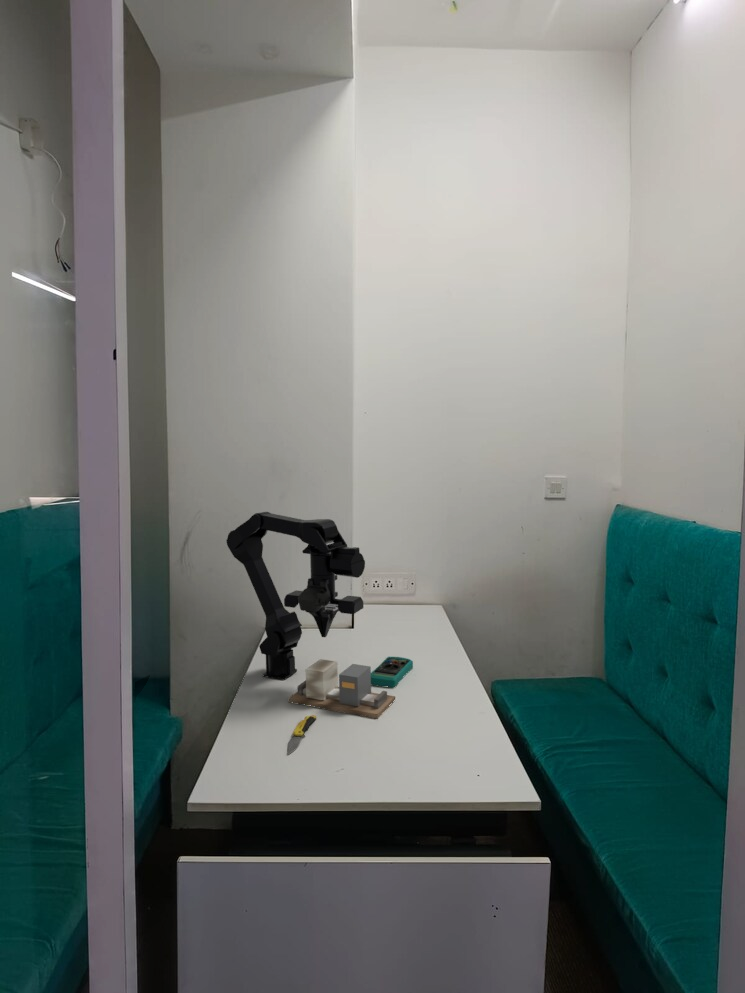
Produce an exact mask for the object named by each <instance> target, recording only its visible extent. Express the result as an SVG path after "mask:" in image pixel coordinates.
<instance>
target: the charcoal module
mask: <svg viewBox="0 0 745 993" xmlns="http://www.w3.org/2000/svg"><path fill="white" fill-rule="evenodd" d="M371 670H372V668H371V665H363V664H357V663H352V664H351V665H350V666H348V667H346V669H344V670H343V671H342V672H340V673H338V687H339V697H340V703H341V704H346V705H352V706H359V705H360V701H361V700H362V699H363V698H364V697H365V696H366V695H367V694H371V692H372V685H371V672H372V671H371Z"/></svg>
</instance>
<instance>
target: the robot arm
mask: <svg viewBox="0 0 745 993" xmlns="http://www.w3.org/2000/svg"><path fill="white" fill-rule="evenodd" d="M268 531H270V532H274V533H279V534H282V535H286V536H287V535H288V536H293V537H296V538H298V539H299V540H301V542H302V543H305V544H307V546H306V547H305V548H304V549H302V551H301V552H302V554H306V555H307V554H308V555H309V556H310V560H309V561H310V563H309V564H310V577H309V578H307V585H306V588H304V589H303V590H293V591H292V592H290V593H287V594H285V597H284V599H283V601H282V600H281V597H280V595H279V593H278V591H277V589H276V586H275V583H274V581H273V579H272V577H271V574H270V573H269V570H268V567H267V566H266V563H265V561H264V559H263V552H264V551H263V550H264V543H263V541H262V540H263V538H264V537H265V536H266V535H267V534H268ZM226 545H227V546H226V547H228V549H229V551H230V553H231V555H232V556H233V557H234V559H236V560H237V561H238V562H239V563H240V564H242V565H243V566H244V569H245V571H246V573H247V575H248V578H249V580H250V582H251V586H252V587H253V590H254V591H255V595H256V597H257V599H258V601H259V603H260V605H261V608H262V610H263V613H264V616H265V624H264V626H265V627H264V630H265V634H266V638H264V639H263V640H262V642H261V643H260V644H259V646H258V647H259V649H260V653H261V655H265V670H266V672H263V673H262V676H263V675H264V676H263V677H265V676H268V677H267V678H271V677H273V679H277V678H278V680H283V679H284V680H286V679H288V678H289V677H291V676H293V674H295V673H296V672H298V670H297V668H296V657H295V656H294V648H297V647H298V644H299V641H300V639H302V638H301V637H302V635H303V631H302V628H301V627H303V625H302V623H301V622H300V620H299V617H298V615H297V612H296V611H291V612H289V610H287V609H286V608H296V607H297V606H298V605H299V609H300V611H303V612H305V613H309V614H310V616H312V617H313V619H314V622H315V624H316V625H317V628H318V631H319V634H320V635H321V638H326V637H327V636H328V633H329V631H330V629H331V626H332V623H333V621H334V619H335V617H336V615H337V613H338V612H339V613H341V614H345V615H354V614H356V613H358V612H360V611H361V610H363V609H364V600H363V599H362V597H361V596H354V595H347V596H344V597H343V598H337V597H338V596H339V595H338V594H339V593H338V591H336V581H337V580H338V576H341V577H350V578H360V577H361V576H362V575H363V573H364V570H365V568H366V561H365V560H366V559H364V556H363V554H362V553H361V552H360V547H357V546H356V547H355V546H354V547H348V544H347V542H346V541H345V539H344V538H343V535H342V534H341V533H340V531H339V529H338V526H337V525H336V522H335V521H334V520H333V519H330V518H324V519H323V518H320V519H319V518H318V519H317V518H316V519H301V518H297V517H291V516H286V515H281V514H275V513H272V512H270V511H262V512H256V513H254V514H252V515H251V517H250V518H248V519H247V520H246V521H245V522H243V523H241V524H240V525H239V526H237V527H236V528H235V529H233V530H231V531H230V532H229V533H228V535H227V539H226ZM283 604H284V605H283Z"/></svg>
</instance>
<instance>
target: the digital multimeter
mask: <svg viewBox="0 0 745 993" xmlns="http://www.w3.org/2000/svg"><path fill="white" fill-rule="evenodd" d="M413 668H414V661H413V660H411V659H410V658H406V657H401V656H387V657H385V659H384V660H383V661H382V662H381V663H380V664H379V665H378V666H376V668H375V669H374V670H372V671H371V684H372V685H371V686H375V685H378V686H377V687H382V686H388V687H387V688H390V687H395V686H396V685H397V686H398V685H399V683H400V682H401V681H402V680H403V679H404V677H405V676H406V675H407V674H408V673H409V672H410V671H411V670H413ZM408 671H409V672H408ZM406 673H407V674H406ZM405 674H406V675H405ZM404 675H405V676H404ZM403 676H404V677H403ZM400 680H401V681H400ZM399 681H400V682H399ZM398 682H399V683H398ZM397 686H396V687H397ZM396 687H395V688H396Z"/></svg>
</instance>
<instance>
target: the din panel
mask: <svg viewBox="0 0 745 993" xmlns="http://www.w3.org/2000/svg"><path fill="white" fill-rule="evenodd" d="M338 664H339V663H338V661H336V660H329V659H324V658H323V659H322V658H320V659H318V660H316V661H315V662H313V664H311V665H310V666H308V667H306V668H305V680H304V681H303V682H301V683H300V684H299V685H297V689H296V690H297V691H296V692H295V693H294V694H292V695H291V696H289V697H288V703H289V702H293V703H292V704H294V703H298V704H297V705H300V704H305V705H311V706H315V707H314V708H316V707H320V708H319V709H322V708H325V709H324V710H327V709H329V710H330V711H333V710H334V711H333V712H338V711H339V713H344V712H345V714H349V713H350V715H355V714H357V715H356V716H361V717H366V718H371V717H372V718H373V719H377V720H378V719H379V718H380V717H381V716H382V715H383V714H384V713H385V712H386V711H387V710H386V709H387V708H390V706H391V705H392V704H393V703H394V702H395V701H396V696H395V695H390V694H388V691H386V690H382V691H381V692H380V693H377V692H373V691H371V694H367V695H366V696H365V697H364V698H363V699H362V700H361V701H360V705H359V706H352V705H346V704H341V703H340V697H339V672H338V670H339V669H338ZM394 700H395V701H394ZM393 701H394V702H393ZM392 702H393V703H392ZM391 703H392V704H391ZM390 704H391V705H390ZM305 705H304V706H305ZM389 705H390V706H389ZM311 706H310V707H311ZM329 710H328V711H329ZM385 710H386V711H385ZM384 711H385V712H384ZM383 712H384V713H383ZM382 713H383V714H382ZM372 718H371V719H372Z"/></svg>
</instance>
